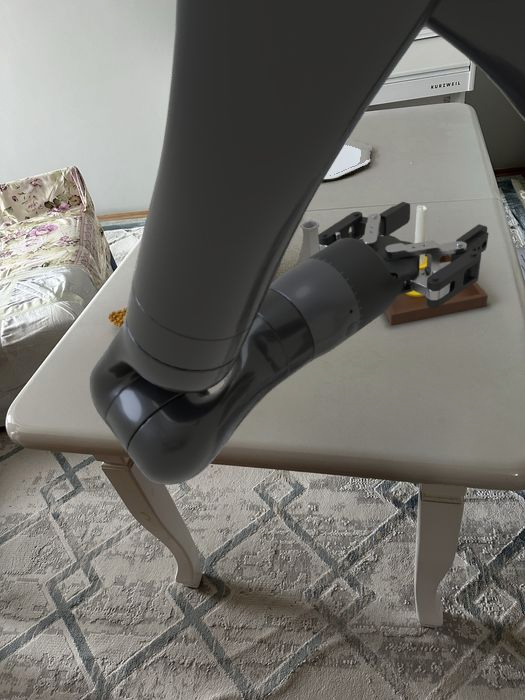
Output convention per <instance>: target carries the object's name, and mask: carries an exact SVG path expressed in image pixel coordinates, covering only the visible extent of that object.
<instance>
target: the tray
mask: <svg viewBox="0 0 525 700" xmlns="http://www.w3.org/2000/svg"><path fill="white" fill-rule="evenodd" d="M425 256H426V257H427V254H425ZM445 262H451V255H445V256H442V257H441V258H440V263H445ZM425 268H426V267H425ZM488 297H489V295H488V294H487V293H486V292H485V290H484V289H483V288H482V287H481V285H480V284H479V283H478V281H476V282H475V283H473V284H472V285H470V286H469V287H467V288H466V289H464V290H463V291H461V292H460V293H458V294H457V295H455V296H454V297H452V298H451V299H450V300H448V301H447V302H445V303H444V304H442V305H441V306H439V307H437V308H431V307H428V306H427V305H426V296H421V297H414V296H410V295H407V294H406V293H404V294H401V295H399V296H397V297H396V299H395V300H394V301H393V302H392V304H391V305H390V307H389V308H388V309H387V310H386V311H385V312H384V313H383V314H384V316H385V317H386V320H387V321H388V323H389V325H390V326H391V327H393V326H397V325H402V324H407V323H412V322H417V321H422V320H427V319H432V318H437V317H442V316H446V315H451V314H456V313H461V312H466V311H471V310H476V309H477V310H478V309H482V308H487V303H488Z"/></svg>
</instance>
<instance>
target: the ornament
mask: <svg viewBox="0 0 525 700" xmlns="http://www.w3.org/2000/svg"><path fill="white" fill-rule="evenodd" d="M126 311H127V307H124V308H123V309H118V310H117V311H112V312H110V313H109V314H108V321H109V322H110V323H112V324H113V325H114V326H116V327H119V328H120V327H121V326H122V324H123V323H124V321H125V317H126Z"/></svg>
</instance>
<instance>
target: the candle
mask: <svg viewBox="0 0 525 700" xmlns="http://www.w3.org/2000/svg"><path fill="white" fill-rule="evenodd" d="M427 218H428V209H427V206H426V205H424V204H420V205H417V206H416V215H415V230H414V231H415V233H414V243H419V242H426V241H427V240H426V239H427V221H428V219H427ZM426 266H427V257H426V256H425V254H423V255H420V266H419V271H421V270H424V269H425V267H426ZM406 294H407V295H410V296H414V297H421V296H424V295H422V294H420V293H418V292H416V291H414V290H413V291H411V292H409V293H406Z"/></svg>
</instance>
